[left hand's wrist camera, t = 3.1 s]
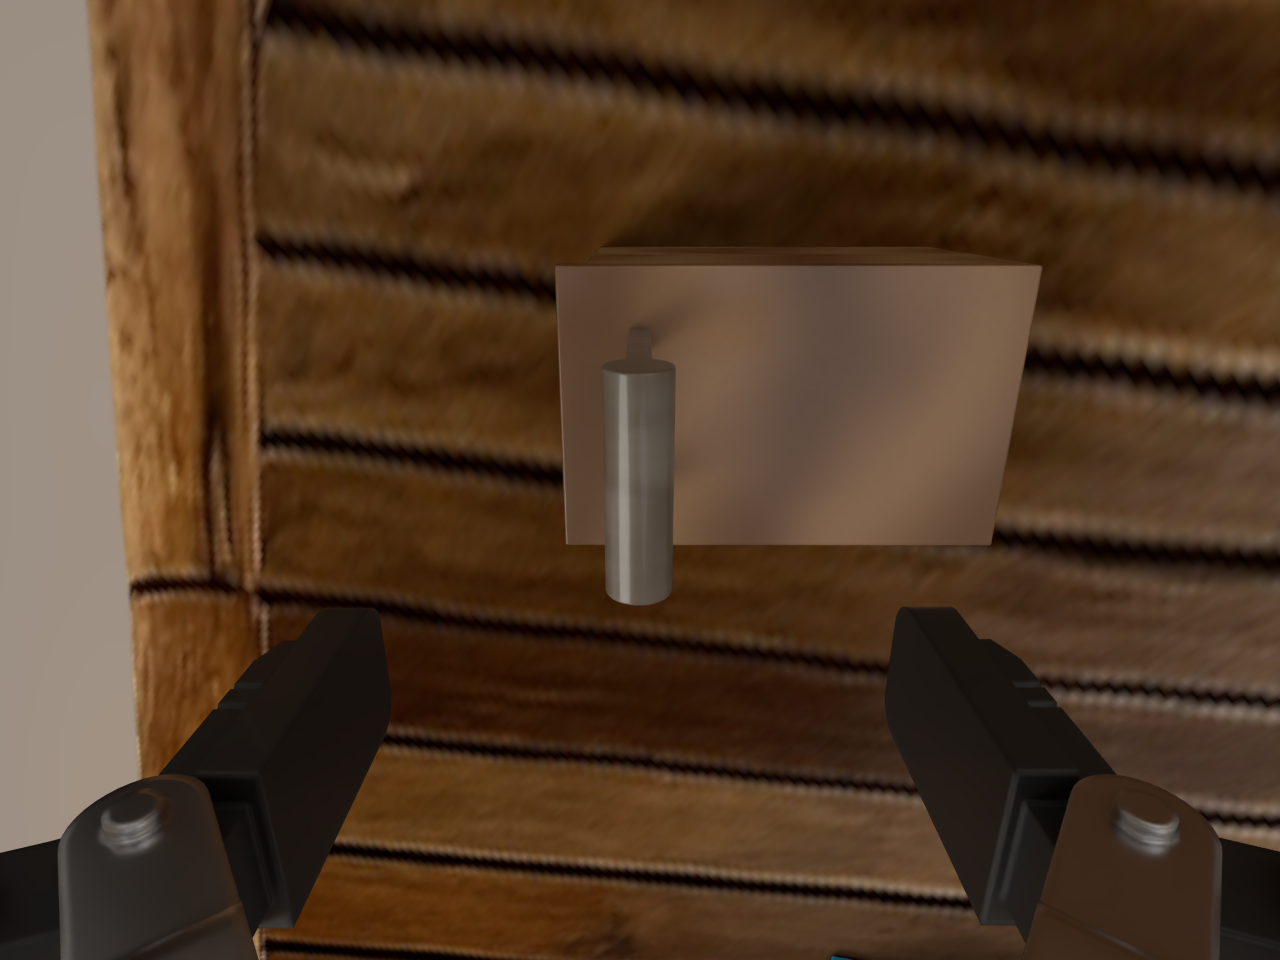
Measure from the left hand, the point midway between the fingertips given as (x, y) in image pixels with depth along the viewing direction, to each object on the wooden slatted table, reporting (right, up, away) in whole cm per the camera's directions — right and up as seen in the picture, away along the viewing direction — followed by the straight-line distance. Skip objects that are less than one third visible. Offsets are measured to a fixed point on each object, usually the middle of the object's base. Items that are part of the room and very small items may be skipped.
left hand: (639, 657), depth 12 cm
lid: (+5, +5, +14) cm, 15 cm away
